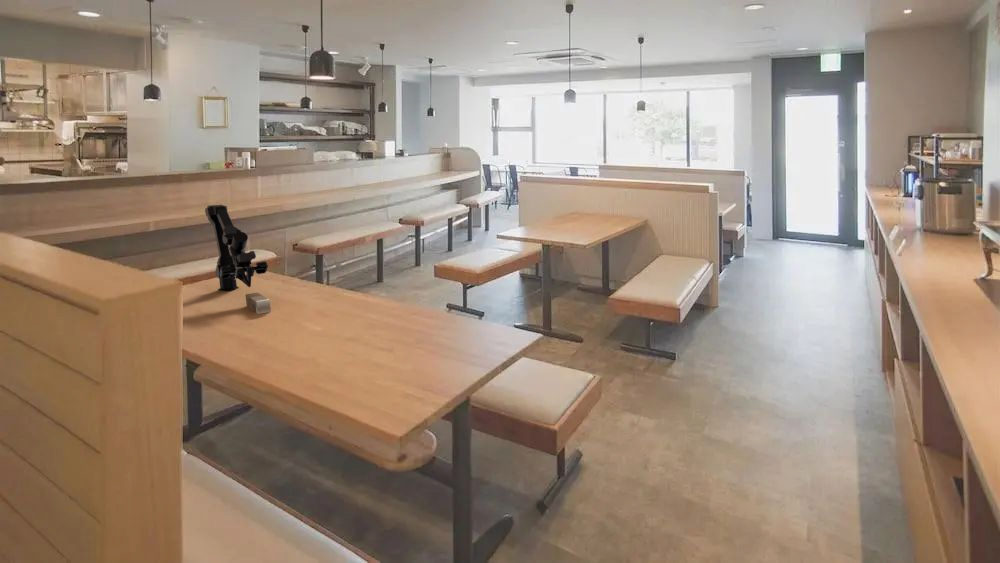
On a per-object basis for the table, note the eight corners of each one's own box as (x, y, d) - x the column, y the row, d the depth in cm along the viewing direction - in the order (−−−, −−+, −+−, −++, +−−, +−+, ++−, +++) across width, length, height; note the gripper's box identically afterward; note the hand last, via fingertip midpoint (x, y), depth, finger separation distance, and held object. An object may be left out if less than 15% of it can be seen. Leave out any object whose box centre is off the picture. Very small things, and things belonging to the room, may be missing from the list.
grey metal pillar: (245, 294, 259) (257, 301, 248) (257, 292, 262) (269, 299, 251) (246, 306, 260) (258, 313, 249) (258, 303, 263) (270, 311, 252)
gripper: (218, 247, 255) (228, 279, 250) (264, 242, 267) (275, 272, 261) (215, 263, 263) (225, 294, 258) (260, 257, 275) (270, 287, 269)
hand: (249, 286), depth 261 cm, fingers closed
